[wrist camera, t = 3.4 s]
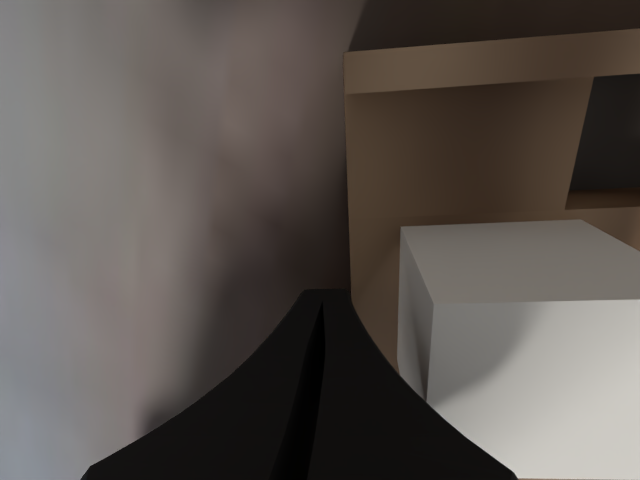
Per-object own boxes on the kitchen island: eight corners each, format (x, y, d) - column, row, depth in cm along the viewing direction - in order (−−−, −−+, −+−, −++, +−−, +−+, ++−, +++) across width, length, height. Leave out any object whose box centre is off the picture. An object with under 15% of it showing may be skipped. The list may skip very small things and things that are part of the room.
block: (396, 359, 12) (421, 476, 8) (400, 226, 10) (433, 304, 7) (546, 358, 12) (639, 479, 8) (580, 219, 10) (724, 297, 6)
